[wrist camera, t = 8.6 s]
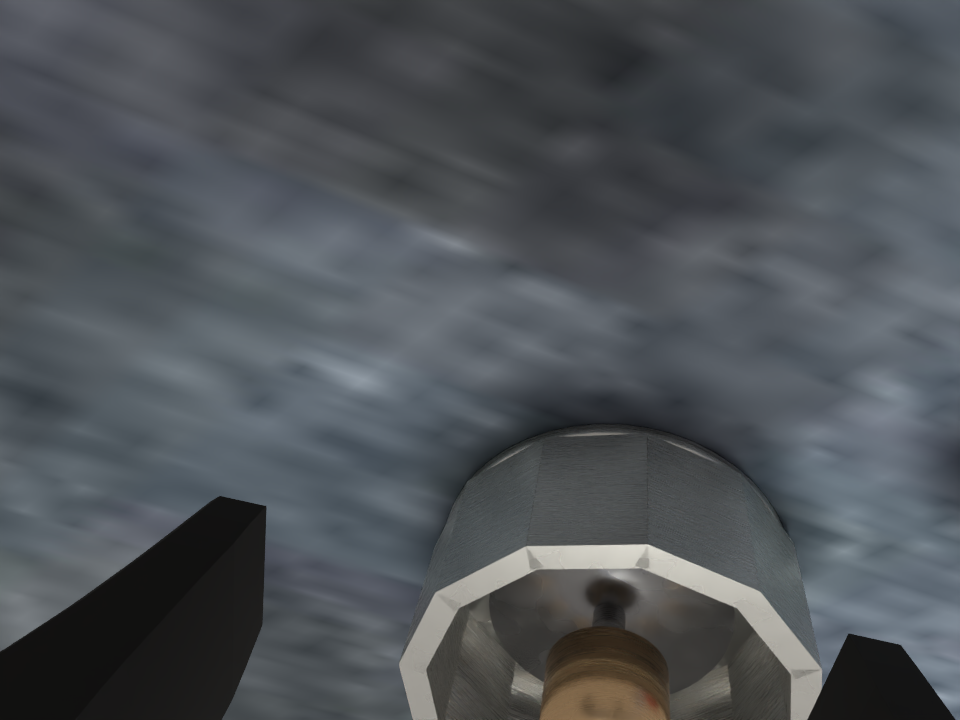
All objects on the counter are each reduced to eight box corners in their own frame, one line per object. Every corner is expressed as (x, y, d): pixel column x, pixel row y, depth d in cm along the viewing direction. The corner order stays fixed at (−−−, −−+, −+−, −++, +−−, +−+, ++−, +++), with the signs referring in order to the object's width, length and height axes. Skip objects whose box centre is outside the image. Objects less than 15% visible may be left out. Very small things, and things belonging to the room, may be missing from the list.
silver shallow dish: (862, 514, 22) (910, 654, 18) (651, 776, 27) (652, 927, 24) (520, 367, 22) (492, 479, 18) (375, 664, 27) (330, 798, 23)
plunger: (780, 563, 22) (810, 721, 18) (663, 714, 25) (666, 878, 21) (548, 465, 21) (527, 603, 17) (458, 630, 24) (423, 780, 20)
